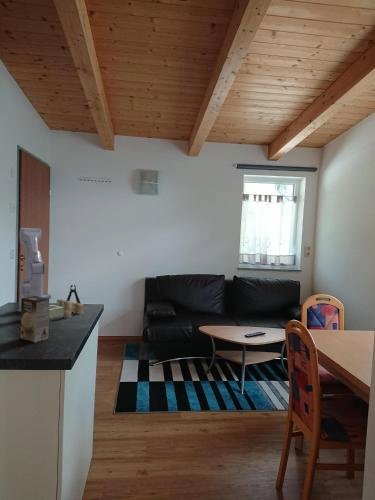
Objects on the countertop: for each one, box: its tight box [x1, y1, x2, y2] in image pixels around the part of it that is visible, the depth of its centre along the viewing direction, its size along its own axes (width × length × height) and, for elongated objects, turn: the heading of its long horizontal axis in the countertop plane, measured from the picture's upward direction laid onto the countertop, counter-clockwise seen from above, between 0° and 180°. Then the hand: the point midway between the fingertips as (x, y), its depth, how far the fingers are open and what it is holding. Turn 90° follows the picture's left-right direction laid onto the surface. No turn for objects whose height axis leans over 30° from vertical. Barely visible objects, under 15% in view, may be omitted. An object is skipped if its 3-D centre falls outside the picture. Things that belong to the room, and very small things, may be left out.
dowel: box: [63, 300, 73, 319], centre depth 158 cm, size 4×4×8 cm
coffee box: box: [20, 296, 50, 343], centre depth 125 cm, size 9×6×16 cm
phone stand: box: [66, 284, 82, 304], centre depth 183 cm, size 9×6×12 cm, turn 109°
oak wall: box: [56, 299, 85, 315], centre depth 171 cm, size 20×2×5 cm, turn 58°
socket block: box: [49, 304, 64, 319], centre depth 162 cm, size 10×8×4 cm
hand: (36, 315), depth 155 cm, fingers closed
